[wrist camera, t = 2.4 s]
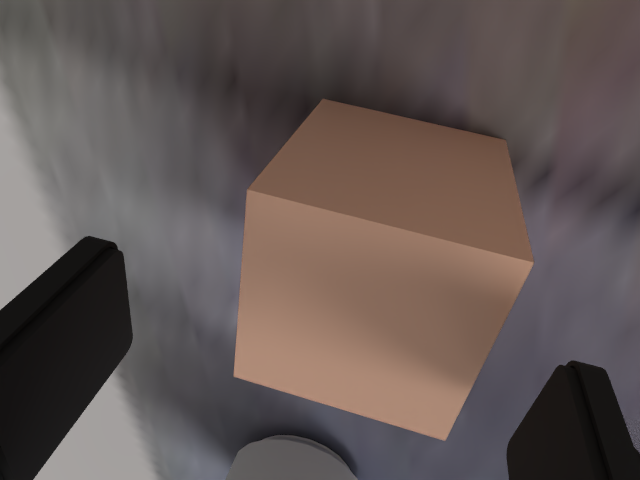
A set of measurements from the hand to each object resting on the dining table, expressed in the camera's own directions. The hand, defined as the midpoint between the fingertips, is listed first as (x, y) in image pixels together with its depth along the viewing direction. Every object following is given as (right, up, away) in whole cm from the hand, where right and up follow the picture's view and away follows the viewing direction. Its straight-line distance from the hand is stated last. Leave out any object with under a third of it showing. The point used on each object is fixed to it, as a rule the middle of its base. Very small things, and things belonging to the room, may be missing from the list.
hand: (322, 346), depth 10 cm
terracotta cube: (+3, +4, +7) cm, 8 cm away
